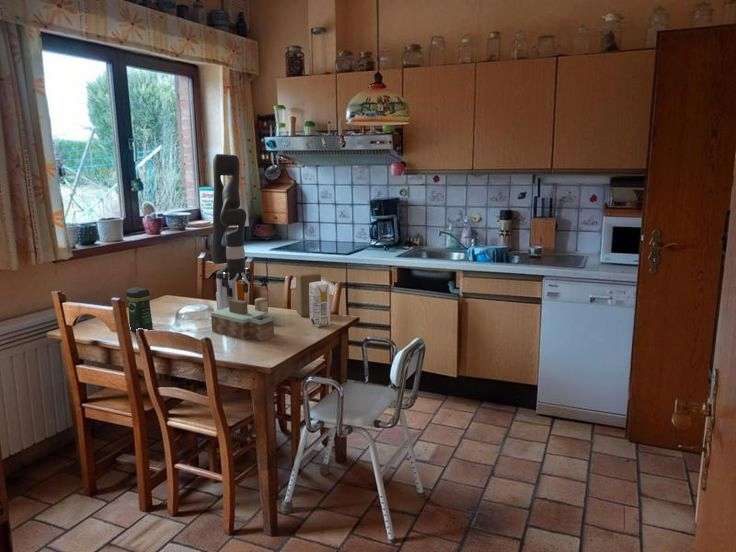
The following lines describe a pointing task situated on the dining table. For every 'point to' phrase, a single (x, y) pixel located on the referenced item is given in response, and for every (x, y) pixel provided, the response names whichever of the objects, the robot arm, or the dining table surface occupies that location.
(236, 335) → the wooden tray
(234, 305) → the lid
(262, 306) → the beige rectangular block
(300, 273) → the wooden block
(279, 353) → the dining table surface
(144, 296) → the coffee jar
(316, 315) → the juice carton
